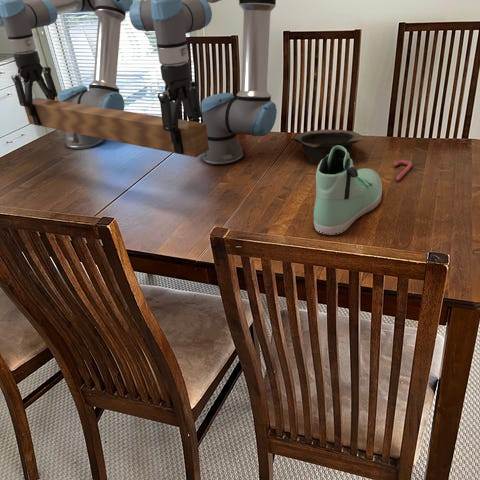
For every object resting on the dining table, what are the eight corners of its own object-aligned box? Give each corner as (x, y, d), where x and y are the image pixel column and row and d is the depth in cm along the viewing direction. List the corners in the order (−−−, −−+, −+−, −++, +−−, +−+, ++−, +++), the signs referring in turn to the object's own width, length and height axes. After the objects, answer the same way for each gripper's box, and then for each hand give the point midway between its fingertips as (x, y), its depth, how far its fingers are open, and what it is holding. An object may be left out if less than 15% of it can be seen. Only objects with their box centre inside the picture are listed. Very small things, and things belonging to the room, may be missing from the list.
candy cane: (380, 178, 154) (381, 174, 154) (397, 162, 164) (397, 158, 164) (399, 182, 151) (399, 178, 150) (414, 165, 161) (415, 161, 161)
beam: (29, 123, 168) (22, 102, 164) (43, 118, 172) (37, 97, 168) (196, 157, 130) (192, 130, 126) (209, 149, 134) (206, 123, 130)
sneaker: (389, 187, 148) (396, 123, 138) (356, 242, 123) (361, 168, 112) (346, 181, 154) (350, 119, 144) (306, 232, 129) (307, 161, 118)
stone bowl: (320, 174, 160) (319, 147, 155) (281, 157, 180) (279, 132, 176) (378, 156, 168) (378, 130, 164) (334, 141, 189) (333, 118, 184)
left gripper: (5, 58, 146) (28, 132, 158) (56, 46, 159) (74, 115, 171) (-9, 57, 150) (15, 129, 162) (43, 45, 163) (61, 112, 175)
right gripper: (160, 73, 114) (174, 163, 126) (208, 55, 126) (217, 139, 139) (137, 70, 118) (153, 158, 130) (187, 54, 130) (197, 136, 143)
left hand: (45, 121), depth 167 cm, fingers closed on beam, 6 cm apart
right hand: (186, 148), depth 134 cm, fingers closed on beam, 6 cm apart
